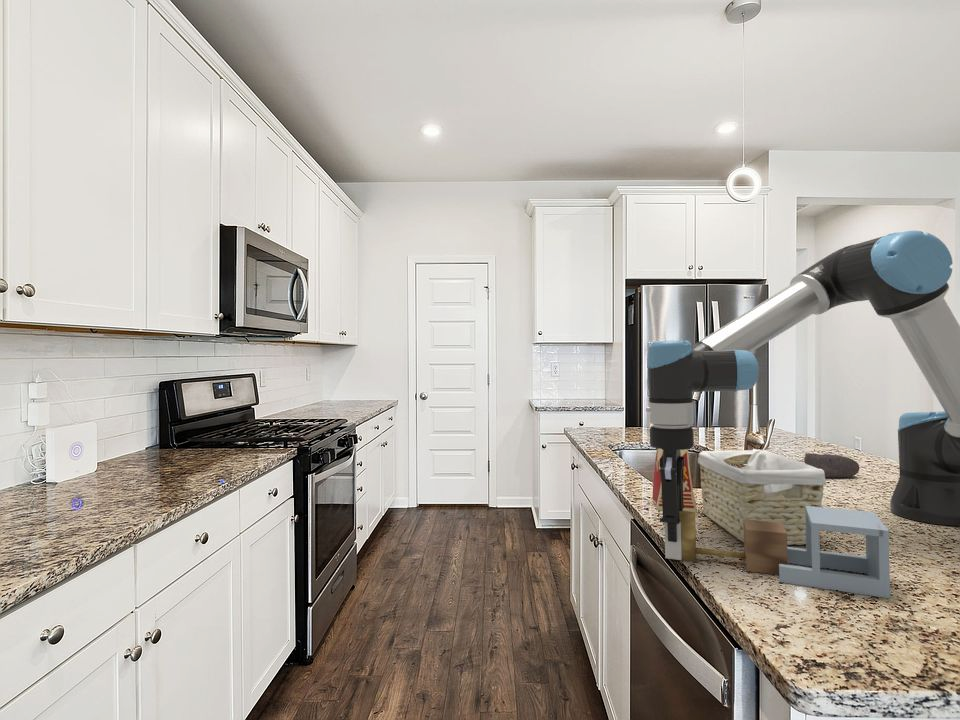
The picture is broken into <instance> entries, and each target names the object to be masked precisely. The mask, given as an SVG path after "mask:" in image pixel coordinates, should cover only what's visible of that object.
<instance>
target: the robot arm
mask: <svg viewBox="0 0 960 720" xmlns="http://www.w3.org/2000/svg"><path fill="white" fill-rule="evenodd" d="M952 257H953V256H952V255H951V252H950V250H949V248H948V247H947V245H946V244H945V242H943V241H942V240H941V239H940V238H938V237H937V236H935V234H932V233H929V232H927V231H921V230H907V231H901V232H892V233H888V234H886V235H884V236H880V237H877V238H872V239H869V240H866V241H862V242H859V243H855V244H851V245H847V246H844V247H841V248H840V249H838V250H836V251H833V252H832V253H830V254H828V255H827V256H825V257H824V258H822V259H819V261H817V262H815V263H814V264H812V265H811V266H809V267H808V268H806V269H805V270H803V271H802V272H800V273H798V274H797V275H795V276H794V277H792V278H791V280H790V283H789V285H788V286H787V287H785V288H783V289H782V290H780V291H778V292H777V293H775V294H774V295H772V296H770V297H769V298H766V299H765V300H764V301H762V302H761V303H759V304H757V305H756V306H754V307H752V308H750V309H749V310H747V311H746V312H744V313H742V314H741V315H739V316H738V317H736V318H734V319H733V320H731V321H729V322H728V323H726V324H724V325H723V326H722V327H719V329H717V330H714V331H713V332H712V333H710V334H709V335H707V336H705V337H703V338H702V339H700V340H699V341H697V342H696V343H693V344H691V342H690V341H689V340H660V341H653V342H651V343H650V344H649V346H648V347H647V363H646V364H647V365H646V368H647V377H648V378H647V379H648V380H647V381H648V382H647V383H648V402H649V404H648V405H649V406H646V408H645V412H647V413H649V423H650V424H651V425H652V426H650V427H649V444H650V446H651V448H655V449H656V450H657V449H662V450H663V456H662V457H661V458H660V461H659V465H660V473H661V487H662V510H661V511H662V516H661V518H659V521H660V523H664V524H663V525H664V551H665V554H664V555H665V557H664V558H665V559H670V560H677V561H683V560H682V546H681V522H680V519H679V511H683V508H684V504H683V478H684V464H685V458H684V457H683V456H681V452H680V450H685V449H688V450H690V449H692V448H694V446H695V437H694V434H695V433H694V431H695V430H694V428H693V427H692V426H691V425H693V424H694V422H695V421H694V400H693V397H694V396H693V393H701V392H733V393H734V392H735V393H736V392H738V391H748V390H750V389H752V388H753V387H754V386H755V385H756V384H757V382H758V380H759V373H760V372H759V363H758V360H757V358H756V356H755V354H753V353H752V352H754V351H755V350H757V349H758V348H760V347H762V346H763V345H765V344H767V343H768V342H770V341H771V340H773V339H775V338H776V337H778V336H779V335H781V334H783V333H784V332H786V331H787V330H789V329H790V328H792V327H794V326H796V325H797V324H798V323H800V322H802V321H804V320H806V319H807V318H808V317H810V316H812V315H822V314H824V313H825V312H829V310H832V309H833V308H835V307H838V306H842V305H845V304H850V303H856V302H864V301H869V303H870V304H871V306H872V308H873V309H874V312H875V313H876V314H877V316H878V317H880V318H881V317H882V318H886V319H890V320H891V322H892V323H893V325H894V326H895V329H896V330H897V332H898V334H899V336H900V337H901V339H902V341H903V342H904V344H905V346H906V347H907V349H908V351H909V352H910V355H911V356H912V358H913V359H914V361H915V363H916V364H917V366H918V368H919V370H920V372H921V374H922V376H924V378H925V380H926V381H927V383H928V385H929V387H930V388H931V390H932V392H933V393H934V394H933V395H934V396H935V397H936V399H937V401H938V402H939V404H940V406H941V407H942V409H943V411H921V412H920V411H919V412H905V413H902V414H901V415H900V416H899V419H898V429H897V440H898V443H897V444H898V464H899V467H898V468H899V477H898V481H897V483H896V486H895V488H894V491H893V494H892V495H891V498H890V502H889V504H890V505H889V507H890V508H889V509H890V511H891V513H893V514H895V515H896V516H899V517H902V518H905V519H909V520H912V521H918V522H922V523H925V524H934V525H939V526H940V525H942V526H951V527H952V526H953V527H954V526H956V527H960V324H959V322H958V320H957V319H956V317H955V315H954V313H953V312H952V310H951V308H950V306H949V305H948V303H947V301H946V300H945V296H946V294H947V293H948V291H949V290H950V286H949V283H948V282H949V280H950V279H951V277H952V274H953V268H952V267H951V266H952V265H953V264H954V263H953V258H952Z"/></svg>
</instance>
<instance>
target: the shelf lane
mask: <svg viewBox="0 0 960 720" xmlns="http://www.w3.org/2000/svg"><path fill="white" fill-rule="evenodd" d="M805 522H806V544H805V548H801V547H792V546H787V558H788V565H785V564H779V575H778V577H779V578H778V579H779V583H783V582H784V584H791V585H797V586H804V587H811V588H817V589H825V590H830V589H831V590H830V591H836V590H838V591H837V592H845V593H849V594H850V593H851V594H857V595H864V596H869V597H870V596H871V597H876V598H884V599H891V583H890V582H891V575H890V531H889V529H888V528H887V527H886V525H885V524H884V523H883V521H882V520H881V519H880V518H879V517H878V515H877V514H876V513H875V512H874V511H868V510H867V511H866V510H858V509H857V510H856V509H855V510H854V509H844V508H833V507H822V506H821V507H814V506H805ZM820 531H825V532H835V533H844V534H851V535H852V534H853V535H861V536H862V535H863V536H865V555H859V554H857V555H856V554H850V553H841V552H840V553H839V552H832V551H826V550H821V549H820V547H821V546H820V545H821V544H820V542H821V541H820V540H821V539H820ZM789 563H792V564H789ZM797 564H799V565H797ZM804 565H805V567H804ZM811 566H812V567H811ZM826 568H829V569H826ZM834 569H838V570H834ZM841 570H847V571H846V572H845V571H843V572H841ZM848 571H852V572H848ZM856 572H858V573H856ZM863 573H864V574H863Z"/></svg>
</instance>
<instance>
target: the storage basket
mask: <svg viewBox="0 0 960 720" xmlns="http://www.w3.org/2000/svg"><path fill="white" fill-rule="evenodd" d="M697 464H699V468H700V472H699V473H700V487H701V497H702V508H703V512H702V513H703V514H704V515H705V516H706V517H708V518H709V519H710V520H711V521H713V522H714V523H716V524H717V525H718V526H719V527H720V528H723V529H724V530H725V531H726V532H728V533H730V534H731V535H732V536H734V537H735V538H736V539H737V540H739V541H741V542H742V543H744V525H743V519H745V520H757V521H768V522H780V523H782V524H783V526H784V528H785V530H786V532H787V546H794V545H796V546H803V545H806V522H805V506H814V507H822V505H823V503H822V501H823V498H824V497H823V496H824V490H825V488H824V486H826V483H827V480H826V478H825V473H824V470H822V469H818V468H816V467H813V466H810V465H808V464H805V462H801V461H798V460H794V459H791V458H789V457H786V456H783V455H780V454H778V453H774V452H772V451H769V450H767V449H757V450H755V449H754V450H751V449H747V450H746V449H745V450H744V449H743V450H703V451H701V452H699V453H698V458H697ZM734 465H745V466H743V467H736V466H734Z"/></svg>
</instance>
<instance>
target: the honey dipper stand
mask: <svg viewBox="0 0 960 720" xmlns="http://www.w3.org/2000/svg"><path fill="white" fill-rule="evenodd" d="M679 519H680V522H681V546H682V560H681V561H684V562H695V561H696V560H697V554H698V555H706V556H715V557H723V558H724V557H725V558H732V559H742V560H743V561H744V564H745V568H746V569H745V570H746V572H749V571H751V573H757V572H760V574H766V573H768V574H769V575H774V574H776V575H777V576H779V564H785V565H789V563H788V558H787V547H788V545H787V532H786V530H785V528H784V526H783V524H782V523H780V522H768V521H757V520H745V519H743V525H744V542H743V552H740V551H730V550H722V549H720V550H719V549H712V548H705V547H704V548H702V547H697V545H696V544H697V542H696V541H697V536H696V535H697V532H696V530H697V528H696V527H697V526H696V512H690V511H679ZM776 575H775V576H776Z"/></svg>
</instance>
